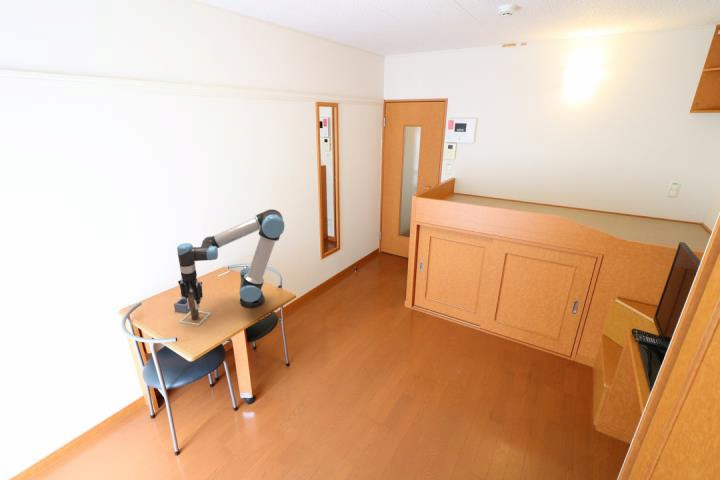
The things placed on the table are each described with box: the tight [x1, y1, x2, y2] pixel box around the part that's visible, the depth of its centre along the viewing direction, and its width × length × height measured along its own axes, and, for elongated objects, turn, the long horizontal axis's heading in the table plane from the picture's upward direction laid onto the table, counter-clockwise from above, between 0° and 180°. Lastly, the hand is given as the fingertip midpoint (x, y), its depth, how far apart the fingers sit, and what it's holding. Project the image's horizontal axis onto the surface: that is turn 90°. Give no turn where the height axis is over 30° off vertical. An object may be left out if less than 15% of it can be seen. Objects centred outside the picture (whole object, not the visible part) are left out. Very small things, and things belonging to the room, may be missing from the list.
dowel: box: [188, 291, 200, 320], centre depth 189 cm, size 4×4×16 cm
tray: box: [178, 310, 212, 327], centre depth 192 cm, size 12×12×2 cm
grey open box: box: [173, 297, 191, 314], centre depth 200 cm, size 8×8×6 cm
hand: (194, 307), depth 190 cm, fingers closed on dowel, 4 cm apart
